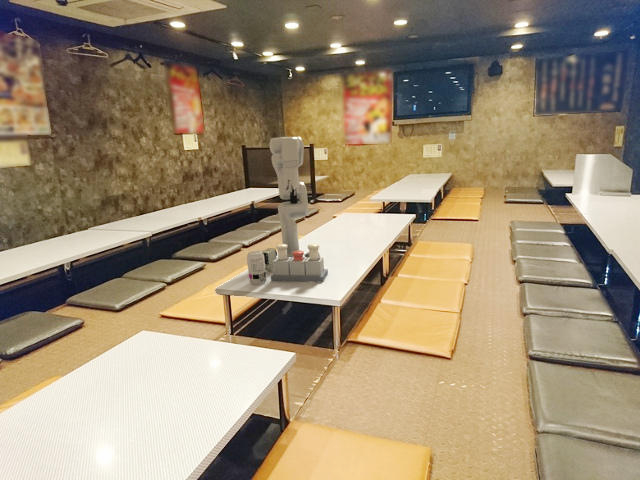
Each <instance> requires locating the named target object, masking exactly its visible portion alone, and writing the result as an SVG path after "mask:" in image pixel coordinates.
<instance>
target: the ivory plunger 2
mask: <svg viewBox="0 0 640 480" xmlns="http://www.w3.org/2000/svg"><path fill="white" fill-rule="evenodd" d="M307 249H308V252H309V255H310V261H319V255H320V253H319V254H318V252H319V249H320V244H319V243H311V244H307Z"/></svg>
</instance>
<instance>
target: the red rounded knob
mask: <svg viewBox="0 0 640 480" xmlns="http://www.w3.org/2000/svg"><path fill="white" fill-rule="evenodd" d="M292 255H293V256H294V261H303V257H304V256H305V253H304V250H300V251H294V252H292Z"/></svg>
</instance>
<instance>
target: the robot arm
mask: <svg viewBox="0 0 640 480" xmlns="http://www.w3.org/2000/svg"><path fill="white" fill-rule="evenodd" d="M304 147H305V145H304V141H303V139H302V138H301V137H300V136H281V137H272V138H270V141H269V150H270V152H271V154H272V155H271V164H272V167H273V169H274V171H275V173H276V175H277V185H278V194H279V198H280V199H282V200H289V201H285V202H284V201H282V202H281V203H279V205H278V206H277V211H278V217H279V220H280V229H281V241H282V243H281V244H287V246H288V248H286V249H287V257H292V258H293V257H294V256H293V255H292V252H294V251H301V250H300V246H299V245H300V244H299V231H298V224H297V222H296V221H295V220H294V218H304V217H306V216H308V215H309V202H308V190H307V185H306V184H305V183H304V182H303V181H300V177H299V168H300V166H302V165H303V163H304V152H305V151H304V150H305V148H304Z"/></svg>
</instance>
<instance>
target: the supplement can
mask: <svg viewBox="0 0 640 480" xmlns="http://www.w3.org/2000/svg"><path fill="white" fill-rule="evenodd" d="M246 261H247V263H246V264H247V270H248V271H247V272H248V281H249V284H250V285H253V286H258V285H259V286H261V285H263V284H265V283H266V282H267V274H266V273H267V271H265V265H266V264H265V260H264V254H263V253H262V250H261V251H260V250H256V251H255V250H254V251H250V252H248V253H247V255H246Z"/></svg>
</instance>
